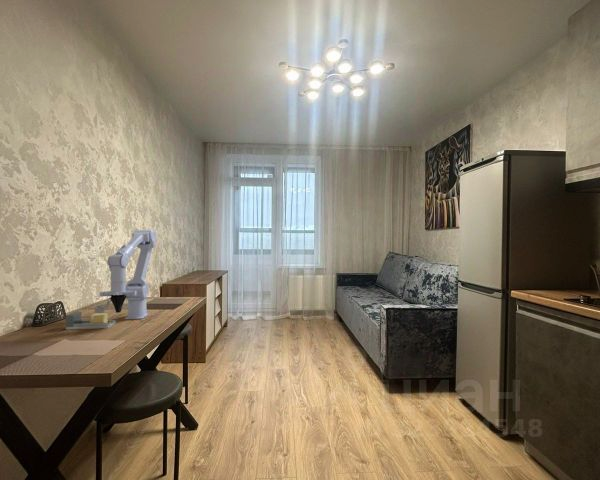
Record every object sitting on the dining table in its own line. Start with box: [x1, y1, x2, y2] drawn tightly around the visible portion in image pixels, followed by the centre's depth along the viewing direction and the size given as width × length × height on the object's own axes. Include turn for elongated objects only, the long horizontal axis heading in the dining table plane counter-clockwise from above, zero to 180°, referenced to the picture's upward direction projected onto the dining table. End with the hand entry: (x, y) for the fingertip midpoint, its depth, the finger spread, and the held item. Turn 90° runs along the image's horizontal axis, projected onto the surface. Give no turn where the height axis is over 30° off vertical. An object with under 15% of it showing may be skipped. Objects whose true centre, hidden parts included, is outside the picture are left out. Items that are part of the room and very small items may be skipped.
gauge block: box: [89, 312, 109, 323], centre depth 139 cm, size 5×5×4 cm
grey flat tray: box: [65, 318, 117, 331], centre depth 140 cm, size 9×17×2 cm, turn 98°
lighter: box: [94, 298, 112, 314], centre depth 159 cm, size 7×2×8 cm, turn 116°
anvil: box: [65, 311, 82, 328], centre depth 138 cm, size 6×3×5 cm, turn 8°
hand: (118, 312), depth 140 cm, fingers closed
